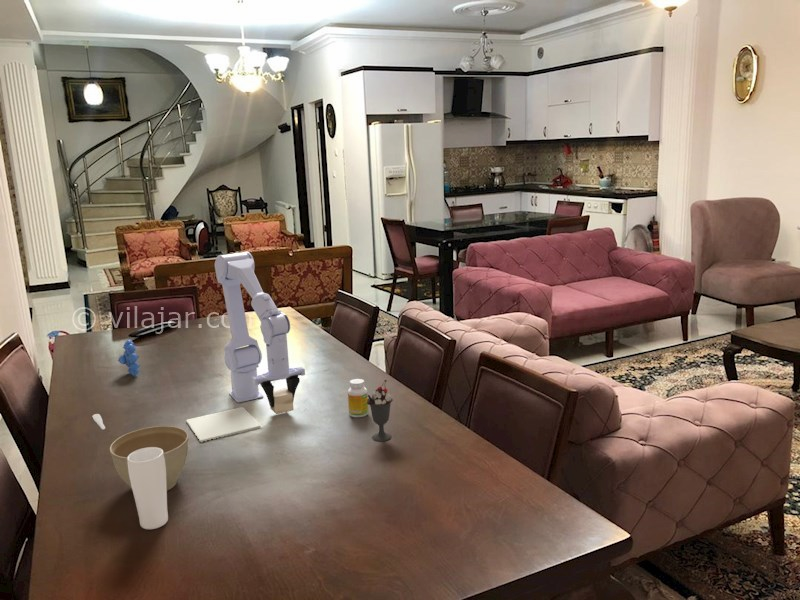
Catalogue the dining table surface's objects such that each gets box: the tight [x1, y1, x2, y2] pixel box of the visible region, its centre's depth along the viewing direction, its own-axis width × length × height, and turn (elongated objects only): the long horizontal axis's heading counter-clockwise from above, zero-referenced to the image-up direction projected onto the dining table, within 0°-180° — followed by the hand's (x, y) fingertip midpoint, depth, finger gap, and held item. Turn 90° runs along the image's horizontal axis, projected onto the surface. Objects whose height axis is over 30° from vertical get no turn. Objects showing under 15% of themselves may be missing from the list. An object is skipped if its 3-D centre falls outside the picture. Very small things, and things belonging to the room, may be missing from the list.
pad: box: [185, 406, 261, 443], centre depth 175 cm, size 16×16×1 cm
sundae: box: [367, 379, 394, 442], centre depth 162 cm, size 7×7×15 cm
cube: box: [269, 387, 295, 415], centre depth 179 cm, size 5×5×5 cm
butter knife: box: [92, 413, 106, 430], centre depth 175 cm, size 1×27×3 cm
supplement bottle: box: [347, 378, 369, 418], centre depth 178 cm, size 5×5×10 cm
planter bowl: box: [109, 425, 189, 492], centre depth 142 cm, size 16×16×11 cm
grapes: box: [117, 339, 140, 377], centre depth 218 cm, size 12×7×12 cm, turn 33°
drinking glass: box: [127, 447, 169, 530], centre depth 127 cm, size 7×7×15 cm
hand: (281, 403), depth 180 cm, fingers closed on cube, 5 cm apart
